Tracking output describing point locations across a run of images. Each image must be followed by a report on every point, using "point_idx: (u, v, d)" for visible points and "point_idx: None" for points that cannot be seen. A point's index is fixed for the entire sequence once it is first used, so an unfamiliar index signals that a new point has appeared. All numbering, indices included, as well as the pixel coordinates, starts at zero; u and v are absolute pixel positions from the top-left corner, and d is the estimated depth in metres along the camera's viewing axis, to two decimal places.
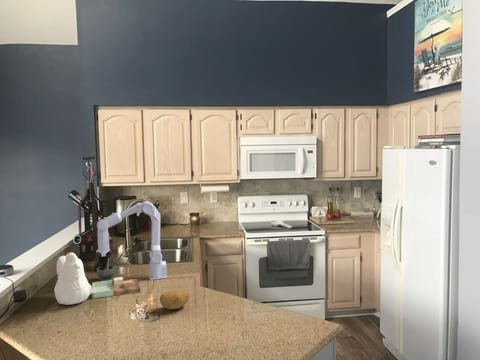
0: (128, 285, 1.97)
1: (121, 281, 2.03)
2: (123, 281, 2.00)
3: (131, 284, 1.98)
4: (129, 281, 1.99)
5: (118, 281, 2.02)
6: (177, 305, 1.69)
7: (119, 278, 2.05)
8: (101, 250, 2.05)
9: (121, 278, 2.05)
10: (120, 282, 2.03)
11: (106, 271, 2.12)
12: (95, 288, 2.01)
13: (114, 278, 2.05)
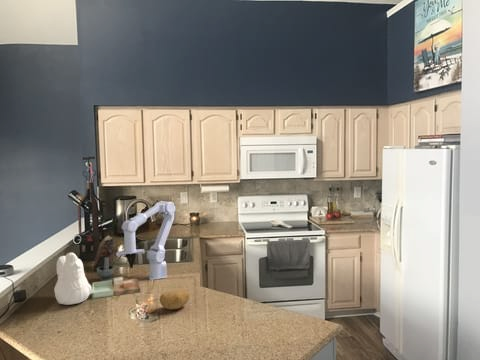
0: (128, 285, 1.97)
1: (121, 281, 2.03)
2: (123, 281, 2.00)
3: (131, 284, 1.98)
4: (129, 281, 1.99)
5: (118, 281, 2.02)
6: (177, 305, 1.69)
7: (119, 278, 2.05)
8: None
9: (121, 278, 2.05)
10: (120, 282, 2.03)
11: (106, 271, 2.12)
12: (95, 288, 2.01)
13: (114, 278, 2.05)
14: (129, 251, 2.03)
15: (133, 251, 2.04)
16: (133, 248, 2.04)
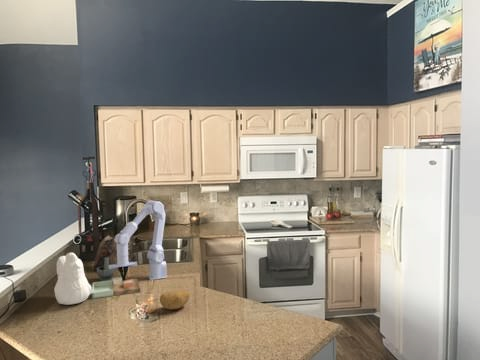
0: (128, 285, 1.97)
1: (120, 281, 2.03)
2: (123, 281, 2.00)
3: (131, 284, 1.98)
4: (129, 281, 1.99)
5: (117, 281, 2.02)
6: (177, 305, 1.69)
7: (118, 278, 2.05)
8: None
9: (120, 278, 2.05)
10: (120, 282, 2.03)
11: (106, 271, 2.12)
12: (95, 288, 2.01)
13: (113, 278, 2.05)
14: (121, 264, 2.02)
15: (125, 264, 2.03)
16: (125, 261, 2.03)
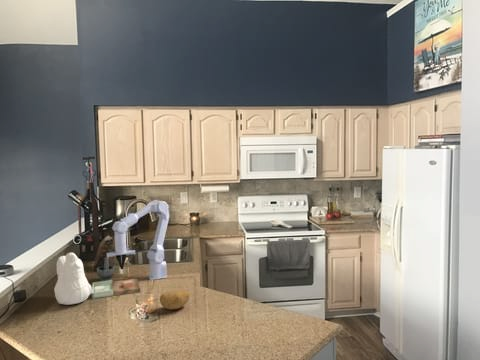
0: (128, 285, 1.97)
1: None
2: (123, 281, 2.00)
3: (131, 284, 1.98)
4: (129, 281, 1.99)
5: None
6: (177, 305, 1.69)
7: (99, 287, 1.96)
8: None
9: (100, 286, 1.97)
10: None
11: (106, 271, 2.12)
12: None
13: (97, 288, 1.93)
14: (119, 252, 2.01)
15: (123, 252, 2.02)
16: (123, 249, 2.02)
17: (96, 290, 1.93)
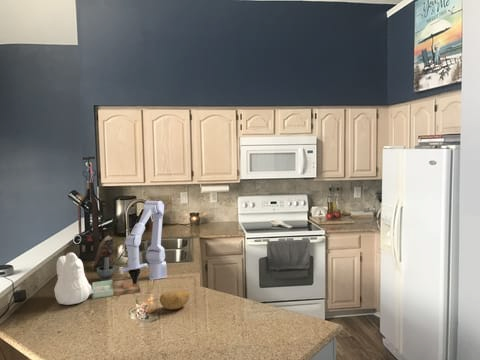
0: (128, 285, 1.97)
1: None
2: (123, 281, 2.00)
3: (131, 284, 1.97)
4: (129, 281, 1.99)
5: None
6: (177, 305, 1.69)
7: (99, 287, 1.96)
8: (128, 266, 1.99)
9: (100, 286, 1.97)
10: None
11: (106, 271, 2.12)
12: None
13: (97, 288, 1.93)
14: (134, 266, 1.97)
15: (138, 266, 1.98)
16: (137, 263, 1.98)
17: (96, 290, 1.93)
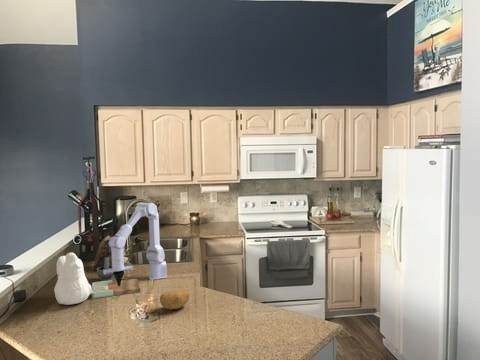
0: (113, 287, 1.95)
1: None
2: (107, 283, 1.97)
3: (116, 286, 1.95)
4: (113, 283, 1.97)
5: None
6: (177, 305, 1.69)
7: (99, 287, 1.96)
8: None
9: (100, 286, 1.97)
10: None
11: None
12: None
13: (97, 288, 1.93)
14: (117, 268, 1.94)
15: (121, 268, 1.95)
16: (121, 265, 1.95)
17: (96, 290, 1.93)
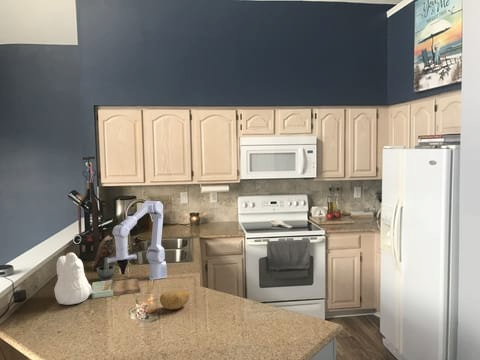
0: (107, 287, 1.94)
1: None
2: None
3: (107, 284, 1.94)
4: (105, 284, 1.96)
5: None
6: (177, 305, 1.69)
7: (98, 287, 1.96)
8: (116, 256, 1.97)
9: (99, 286, 1.97)
10: None
11: (106, 271, 2.12)
12: None
13: (96, 289, 1.93)
14: (121, 257, 1.95)
15: (125, 257, 1.96)
16: (125, 254, 1.96)
17: (95, 290, 1.93)
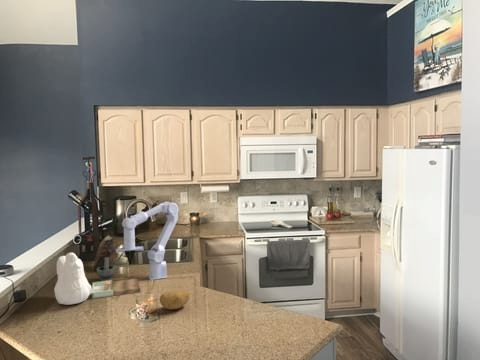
0: (107, 287, 1.94)
1: None
2: None
3: (107, 284, 1.94)
4: (105, 284, 1.96)
5: None
6: (177, 305, 1.69)
7: (98, 287, 1.96)
8: None
9: (99, 286, 1.97)
10: None
11: (106, 271, 2.12)
12: None
13: (96, 289, 1.93)
14: (128, 248, 2.06)
15: (132, 248, 2.07)
16: (132, 245, 2.07)
17: (95, 290, 1.93)
